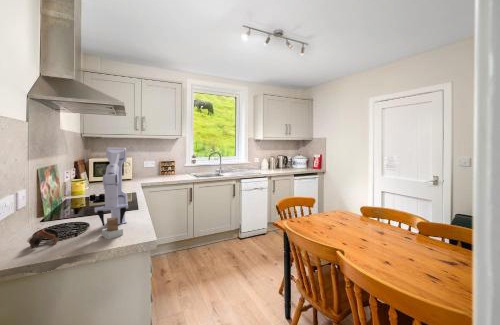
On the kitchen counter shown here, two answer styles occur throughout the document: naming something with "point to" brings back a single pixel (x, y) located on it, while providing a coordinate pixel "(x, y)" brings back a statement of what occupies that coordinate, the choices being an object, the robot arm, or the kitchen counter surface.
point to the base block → (112, 233)
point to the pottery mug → (45, 232)
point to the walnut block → (112, 224)
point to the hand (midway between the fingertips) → (112, 223)
